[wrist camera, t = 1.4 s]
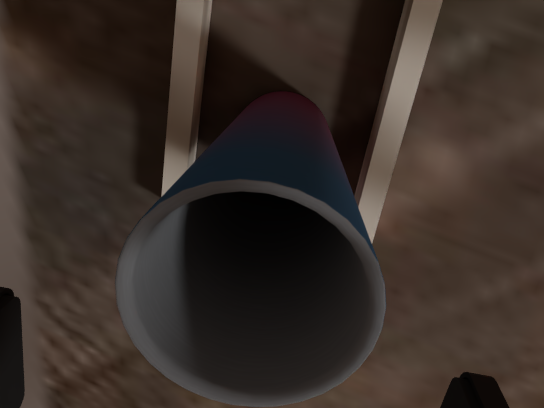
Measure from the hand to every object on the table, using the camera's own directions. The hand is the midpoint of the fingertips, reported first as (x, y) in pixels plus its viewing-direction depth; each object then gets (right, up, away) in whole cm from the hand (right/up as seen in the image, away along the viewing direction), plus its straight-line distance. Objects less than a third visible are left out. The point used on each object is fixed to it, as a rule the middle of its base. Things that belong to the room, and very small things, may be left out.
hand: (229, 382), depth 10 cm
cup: (+1, +7, +16) cm, 17 cm away
